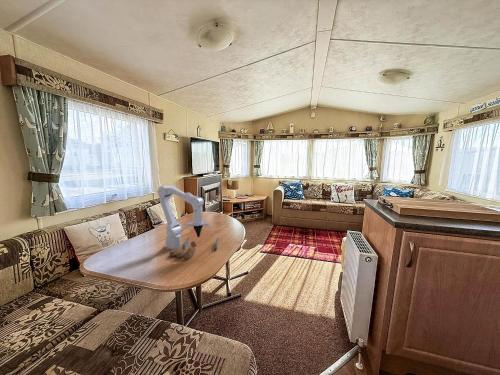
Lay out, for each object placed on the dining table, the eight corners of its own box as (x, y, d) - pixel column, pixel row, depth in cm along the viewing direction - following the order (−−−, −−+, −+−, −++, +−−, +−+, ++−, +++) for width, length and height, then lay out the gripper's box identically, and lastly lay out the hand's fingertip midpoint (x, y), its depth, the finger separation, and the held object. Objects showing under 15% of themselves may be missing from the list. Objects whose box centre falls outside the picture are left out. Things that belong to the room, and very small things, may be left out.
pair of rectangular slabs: (183, 250, 135) (182, 244, 134) (187, 243, 146) (187, 237, 146) (216, 250, 136) (216, 244, 135) (218, 243, 148) (218, 237, 147)
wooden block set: (166, 251, 123) (173, 244, 133) (171, 264, 124) (178, 256, 134) (193, 242, 121) (198, 236, 132) (198, 255, 123) (203, 248, 133)
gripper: (184, 218, 126) (185, 239, 128) (208, 218, 127) (208, 238, 129) (187, 215, 133) (188, 234, 135) (210, 214, 134) (210, 234, 136)
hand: (198, 236), depth 132 cm, fingers closed
